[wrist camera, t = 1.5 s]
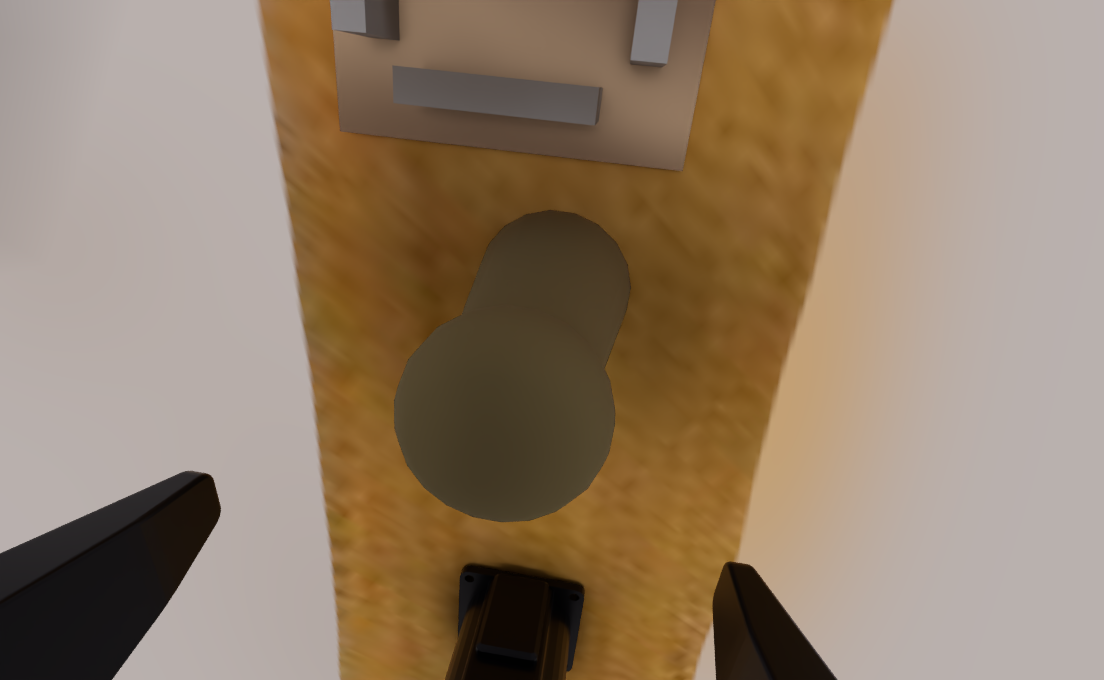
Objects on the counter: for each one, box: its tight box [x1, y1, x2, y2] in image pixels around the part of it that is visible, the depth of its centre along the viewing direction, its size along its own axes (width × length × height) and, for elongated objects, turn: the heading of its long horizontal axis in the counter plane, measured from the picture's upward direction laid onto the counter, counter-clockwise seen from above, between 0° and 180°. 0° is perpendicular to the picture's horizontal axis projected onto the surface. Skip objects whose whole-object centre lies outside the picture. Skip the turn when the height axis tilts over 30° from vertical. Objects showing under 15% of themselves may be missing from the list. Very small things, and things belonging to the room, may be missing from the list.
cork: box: [394, 210, 631, 522], centre depth 16 cm, size 6×6×11 cm
